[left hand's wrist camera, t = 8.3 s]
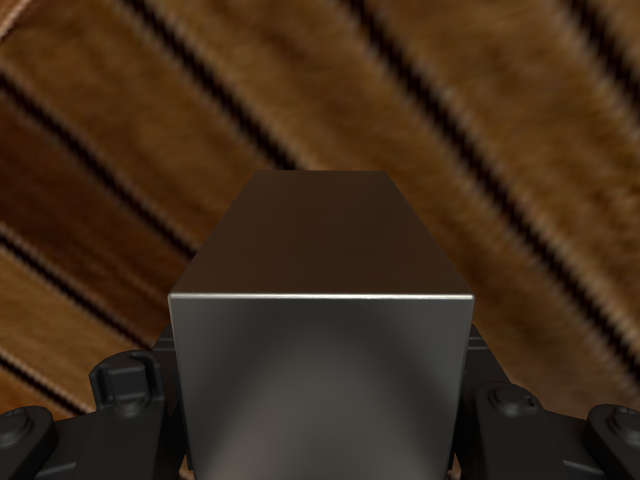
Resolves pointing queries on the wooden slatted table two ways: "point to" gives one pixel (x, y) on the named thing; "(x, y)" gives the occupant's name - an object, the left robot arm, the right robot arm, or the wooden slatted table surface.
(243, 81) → the wooden slatted table surface
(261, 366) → the bar
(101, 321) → the wooden slatted table surface
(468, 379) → the left robot arm
